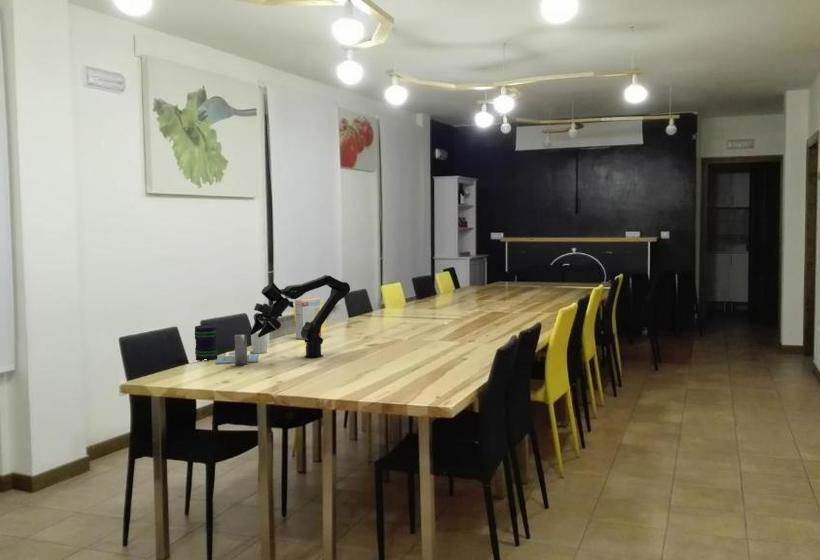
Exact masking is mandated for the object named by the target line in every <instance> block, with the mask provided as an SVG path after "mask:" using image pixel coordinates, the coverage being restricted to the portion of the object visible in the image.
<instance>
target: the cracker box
mask: <svg viewBox="0 0 820 560" xmlns="http://www.w3.org/2000/svg"><path fill="white" fill-rule="evenodd" d="M320 310H321V298H319V297H312V298H304V299H303V298H302V299H295V300H294V313H295V316H294V317H295V337H296V340H301V339H302V341H304V339H303V338H302V336H301V331H302V329H301V328H303V327H304V325H305V323H306V322H312V321H313V320H314V318H315V317H316V315H317V314H318V312H319V311H320ZM319 336H320V337H322V330H321V331H320V334H319Z"/></svg>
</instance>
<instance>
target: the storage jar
mask: <svg viewBox="0 0 820 560" xmlns="http://www.w3.org/2000/svg"><path fill="white" fill-rule="evenodd" d="M217 328H218V327H217V325H216V324H201V325H196V326H194V339H195V348H194V349H195V352H194V354H195V361H198V362H203V361H202V360H204V359H207V360H211V361H215V360H216V361H217V358H218V356H219V355H218V352H219V351H218V345H217V344H218V343H217V338H218V332H217V330H218V329H217Z"/></svg>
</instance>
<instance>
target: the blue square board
mask: <svg viewBox="0 0 820 560" xmlns="http://www.w3.org/2000/svg"><path fill="white" fill-rule="evenodd" d="M259 356H260V354H256V353H251V351H249V350H247V364H249V363H248V362H258V363H259V358H260V357H259ZM217 357H218V359H216V361H215V365H231V364H230V363H235V351H226V353H225V354H224V355H223V354H222V355H221V354H220V355H217ZM258 357H259V358H258Z"/></svg>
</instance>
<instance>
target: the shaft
mask: <svg viewBox="0 0 820 560" xmlns="http://www.w3.org/2000/svg"><path fill="white" fill-rule="evenodd" d="M247 338H248V337H247V334H235V335H234V352H235V365H236V367H245V366H244V365H247V366H248V363H247V351H248V347H247V346H248V345H247V342H248V341H247V340H248V339H247Z"/></svg>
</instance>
